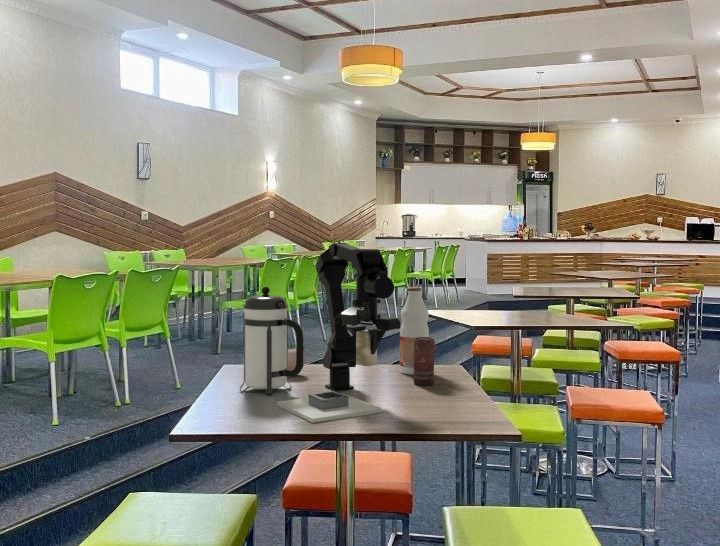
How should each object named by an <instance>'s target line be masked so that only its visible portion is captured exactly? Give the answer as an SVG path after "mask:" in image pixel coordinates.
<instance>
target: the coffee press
mask: <svg viewBox="0 0 720 546" xmlns="http://www.w3.org/2000/svg"><path fill="white" fill-rule="evenodd" d="M270 291H271V290H270V288H269V287H268V286H263V287H262V289H261V293H262V294H260V295H253V296H252V295H251V296H249V297H248V298H247V299H245V301H244V304H243V305H242V309H243V314H244V317H243V382H242V384H241V385H240V386H239V391H240V393H244V392H246V391H247V390H248V389H255V390H265V391H266V396H268V397H269V396H273V390H276V389H279V388H281V387H284V388H285V389H287V390H291V389H292V385H291V383H290V382H289V379H288V377H289V378H291V377H294V376H295V377H296V376H297V375H299V374H300V373H301V372H302V370H303V368H304V367H303V353H304V351H303V349H304V334H303V329H302V326H301V325H300V324H299V322H297V321H295V320H293V319H288V316H287V315H288V314H287V313H288V308H289V304H288V303H287V301H286V299H285V298H283V297H282V296H280V295H272V294H270ZM288 327H291V328H292V329H293V330H294V332H295V337H296V338H295V339H296V341H295V343H296V344H295V345H296V346H295V347H296V367H295V369H294V370H292V371H291V370H288V348H289V346H288V345H289V344H288V343H289V342H288V341H289V340H288V336H289V335H288ZM302 367H303V368H302ZM287 383H288V384H289V387H287V386H285V385H286V384H287ZM244 385H245V386H246V388H245V389H242V388H243V386H244ZM241 389H242V390H241Z"/></svg>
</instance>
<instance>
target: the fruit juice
mask: <svg viewBox="0 0 720 546" xmlns="http://www.w3.org/2000/svg"><path fill="white" fill-rule="evenodd" d="M407 294H408V295H407V298H406V301H405V304H404V306H403V307H402V309H401V311H400V319H401V325H400V329H399V331H400V332H399V372H400V373H402V374H405V375H413V376H414V340H415V338H417V337H429V338H430V333H429V332H430V328H429V325H428V320H429V310H428V308H427V306H426V305H425V302H424V299H423V295H422V294H423V287H422V286H408V287H407Z"/></svg>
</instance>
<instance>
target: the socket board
mask: <svg viewBox="0 0 720 546" xmlns="http://www.w3.org/2000/svg"><path fill="white" fill-rule="evenodd" d="M339 393H340V392H339ZM340 394H343V395H346V396H348V397H349V406H347V407H340V408H333V409H326V410H322V409H319V408H317V407H315V406H312V405H310V404H308V397H301V398H295V399H287V400H281V401H279V400H278V401H276V407H278V408H281V409H283V410H285V411H287V412H289V413H291V414H293V415H295V416H297V417H300V418H301V419H303V420H305V421H307V422H310V423H312V424H315V423H319V422H321V423H322V422H326V421H333V420H334V421H335V420H340V419H347V418H352V417H353V418H354V417H360V416H361V417H362V416H367V415H373V414H378V413H379V414H380V413H383V408H382V407H379V406H378V405H374V404H371V403H369V402H367V401H363V400H361V399H358V398H356V397H353V396H350V395H349V394H346V393H343V392H341V393H340Z"/></svg>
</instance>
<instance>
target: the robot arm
mask: <svg viewBox="0 0 720 546" xmlns="http://www.w3.org/2000/svg"><path fill="white" fill-rule="evenodd" d="M349 265H350V266H351V267H352V268H353V269H355V271H356V273H355V274H354V275H353V277H354V279H356V283H355V285H356V286H355V287H356V292H355V293H356V295H355V296H356V297H355V298H356V299H355V298H354V299H352V300H353V301H352V305H351V306H350V307H347V308H346V309H345V302H344V297H343V296H344V294H343V287H342V283H343V281H344V279H345V277H346V269H347V268H348V267H349ZM315 271H316V273H317V277H318V280H319V281H320V283H321V284H322V286H324V288H325V289H324V290H325V296H326V303H327V309H328V310H327V311H328V316H329V326H330V334H331V335H330V337H329V339H328V342H327V350H326V352H325V354H324V357H323V359H322V363H323V368H326V369H328V370H329V384H324V387H325V388H327V389H329V390H331V391H343V390H349V389H350V390H351V389H355V386H353V385H351V383H350V382H351V379H350V378H351V375H350V374H351V373H350V368H356V366H357V365H356V331H363V330H368V331H369V333H370V335H371V354H375V352H376V350H377V351H378V348H379V345H380V343H381V342H382V339H383V337H384V336H385V334H386V333H387V332H388V331H393V330H400V329H401V320H400V318H398V317H392V316H391V317H390V316H386V317H381V314H379V313H378V304H380V303H381V299H383V300H384V299H388V298H390V297H391V296H392V295H393V294H394V291H395V284H394V282H393V279H391V278H390V277H388V267H387V265H386V263H385V261H384V258H383V255H382V253H381V251H380V249H378V248H363V249H362V248H358V247H357V246H353V245H350V244H349V243H347V242H333V243H331V244H330V245H329V247H328V248H327V249H326V250H324V251H323V252H322V253H320V255H319V257H318V259H317V260H316V262H315ZM366 325H367V326H372V329H371V328H370V329H367V326H366ZM350 333H351V334H350Z"/></svg>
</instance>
